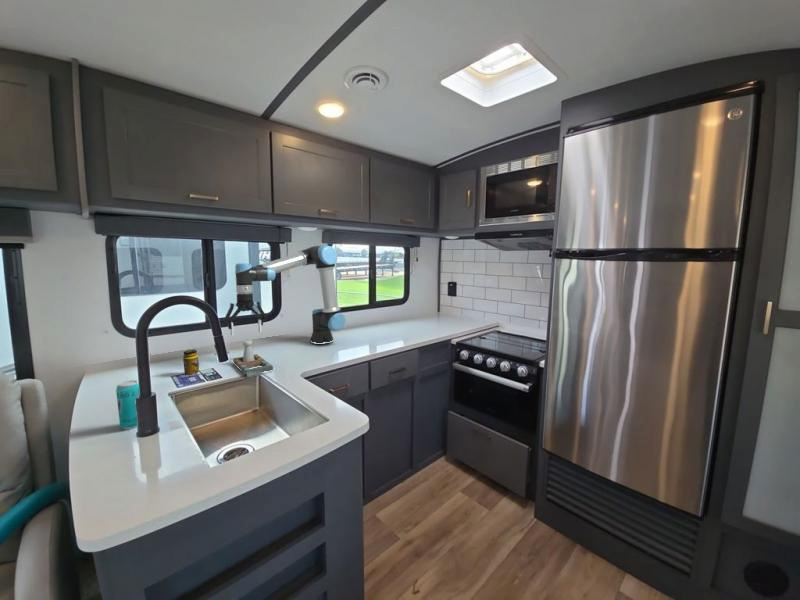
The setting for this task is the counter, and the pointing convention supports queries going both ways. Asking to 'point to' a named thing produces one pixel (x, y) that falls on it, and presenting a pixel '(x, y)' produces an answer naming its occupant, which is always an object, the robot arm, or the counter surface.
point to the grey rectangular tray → (253, 365)
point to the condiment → (190, 362)
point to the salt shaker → (248, 351)
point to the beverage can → (127, 403)
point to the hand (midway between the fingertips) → (246, 333)
